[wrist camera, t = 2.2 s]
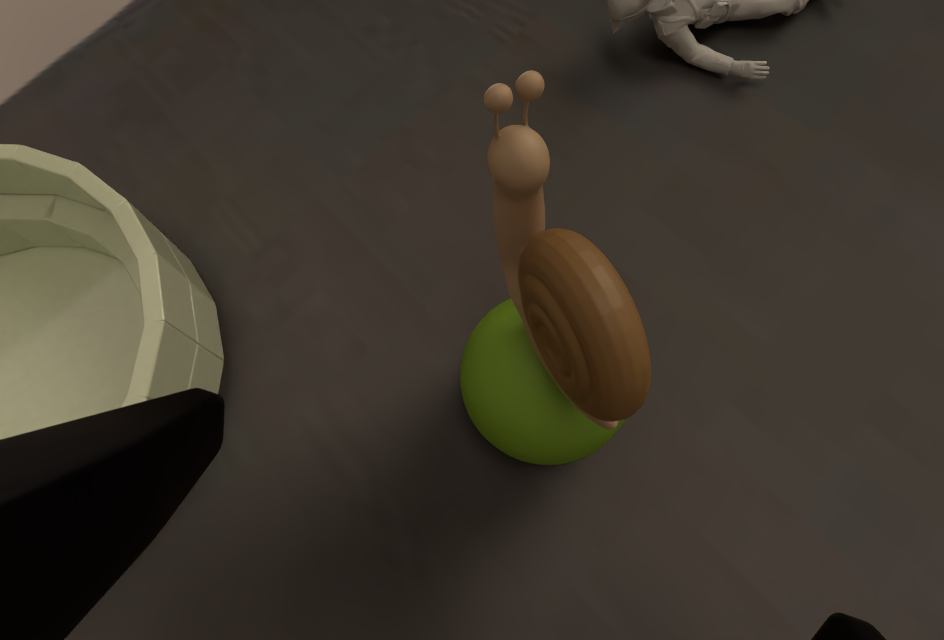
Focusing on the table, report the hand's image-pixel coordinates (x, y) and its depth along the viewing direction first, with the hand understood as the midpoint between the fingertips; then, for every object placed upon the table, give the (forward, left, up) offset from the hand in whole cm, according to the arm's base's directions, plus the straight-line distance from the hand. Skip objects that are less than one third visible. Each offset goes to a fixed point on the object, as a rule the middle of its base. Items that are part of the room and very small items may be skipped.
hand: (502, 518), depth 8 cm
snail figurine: (+4, +3, -12) cm, 13 cm away
